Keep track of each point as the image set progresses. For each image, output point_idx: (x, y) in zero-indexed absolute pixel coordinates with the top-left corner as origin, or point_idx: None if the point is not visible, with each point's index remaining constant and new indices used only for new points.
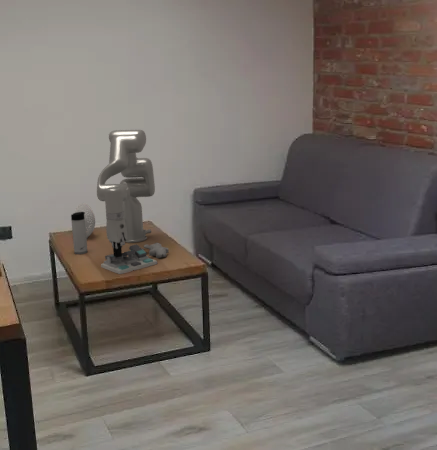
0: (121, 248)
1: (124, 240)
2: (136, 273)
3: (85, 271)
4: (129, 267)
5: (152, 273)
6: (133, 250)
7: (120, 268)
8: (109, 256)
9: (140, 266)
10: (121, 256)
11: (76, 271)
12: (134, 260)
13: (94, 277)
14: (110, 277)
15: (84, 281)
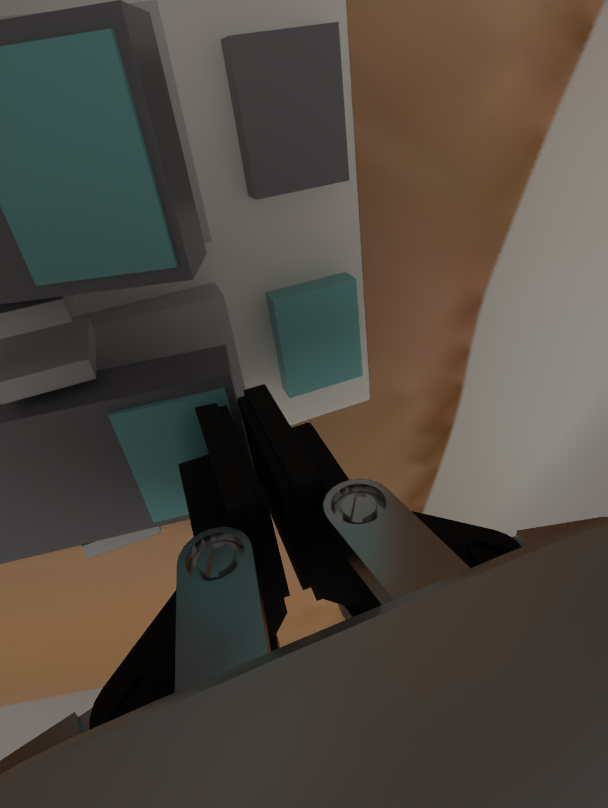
0: (312, 463)
1: (525, 548)
2: (447, 219)
3: (59, 633)
4: (332, 258)
5: (582, 45)
6: (126, 19)
7: (326, 379)
8: (107, 537)
9: (342, 65)
10: (232, 377)
11: (14, 693)
12: (172, 72)
13: (284, 571)
14: (370, 468)
15: (322, 625)
